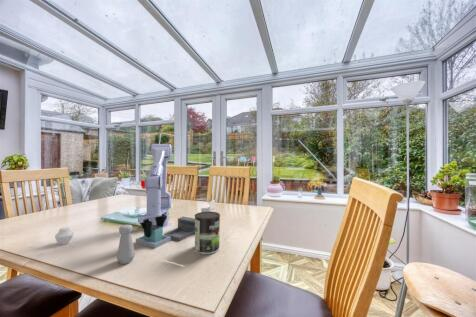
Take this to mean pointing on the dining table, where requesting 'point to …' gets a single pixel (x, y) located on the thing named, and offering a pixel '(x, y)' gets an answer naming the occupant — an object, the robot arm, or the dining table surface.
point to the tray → (151, 244)
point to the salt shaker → (125, 245)
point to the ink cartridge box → (209, 207)
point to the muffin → (64, 236)
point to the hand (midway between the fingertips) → (153, 234)
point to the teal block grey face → (155, 234)
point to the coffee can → (207, 232)
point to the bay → (182, 229)
